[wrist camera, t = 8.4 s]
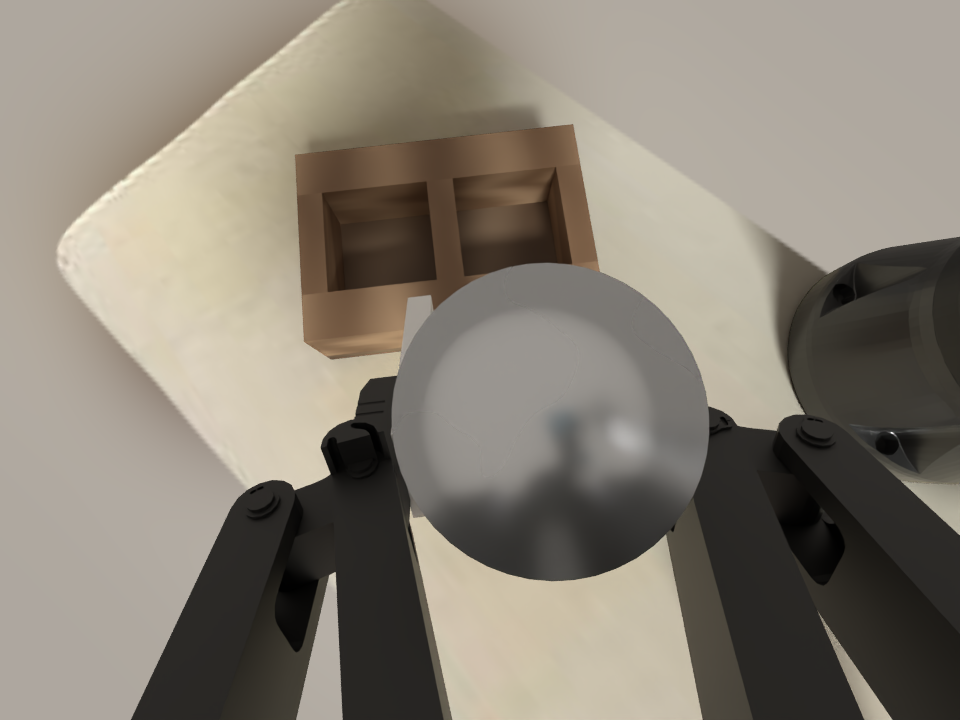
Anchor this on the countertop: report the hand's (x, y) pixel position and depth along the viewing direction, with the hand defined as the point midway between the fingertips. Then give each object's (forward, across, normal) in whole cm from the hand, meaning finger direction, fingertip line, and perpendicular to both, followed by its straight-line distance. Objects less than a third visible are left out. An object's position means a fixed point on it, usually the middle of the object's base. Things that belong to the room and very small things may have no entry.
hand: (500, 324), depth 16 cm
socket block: (+18, -2, -5) cm, 18 cm away
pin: (0, 0, -6) cm, 6 cm away
